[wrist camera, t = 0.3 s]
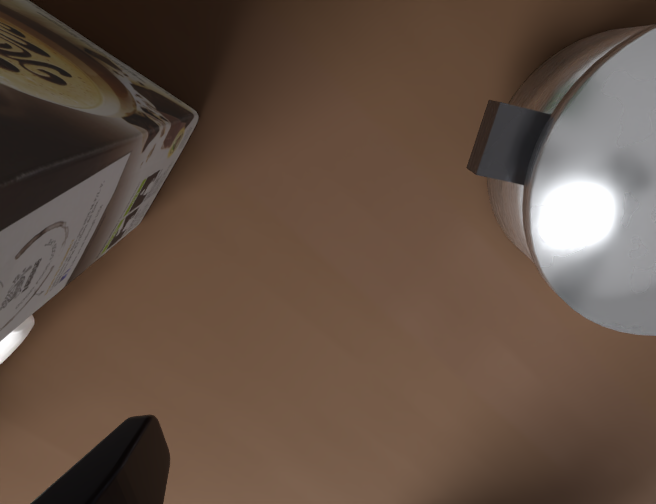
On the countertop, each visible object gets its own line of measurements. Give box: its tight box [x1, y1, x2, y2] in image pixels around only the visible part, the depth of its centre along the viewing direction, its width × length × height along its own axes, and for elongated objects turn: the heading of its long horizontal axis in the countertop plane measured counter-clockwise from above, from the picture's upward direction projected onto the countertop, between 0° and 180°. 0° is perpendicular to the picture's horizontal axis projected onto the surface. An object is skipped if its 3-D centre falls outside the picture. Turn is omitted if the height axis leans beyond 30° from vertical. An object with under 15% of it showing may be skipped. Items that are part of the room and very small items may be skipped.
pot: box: [467, 25, 651, 261], centre depth 20 cm, size 16×11×4 cm
